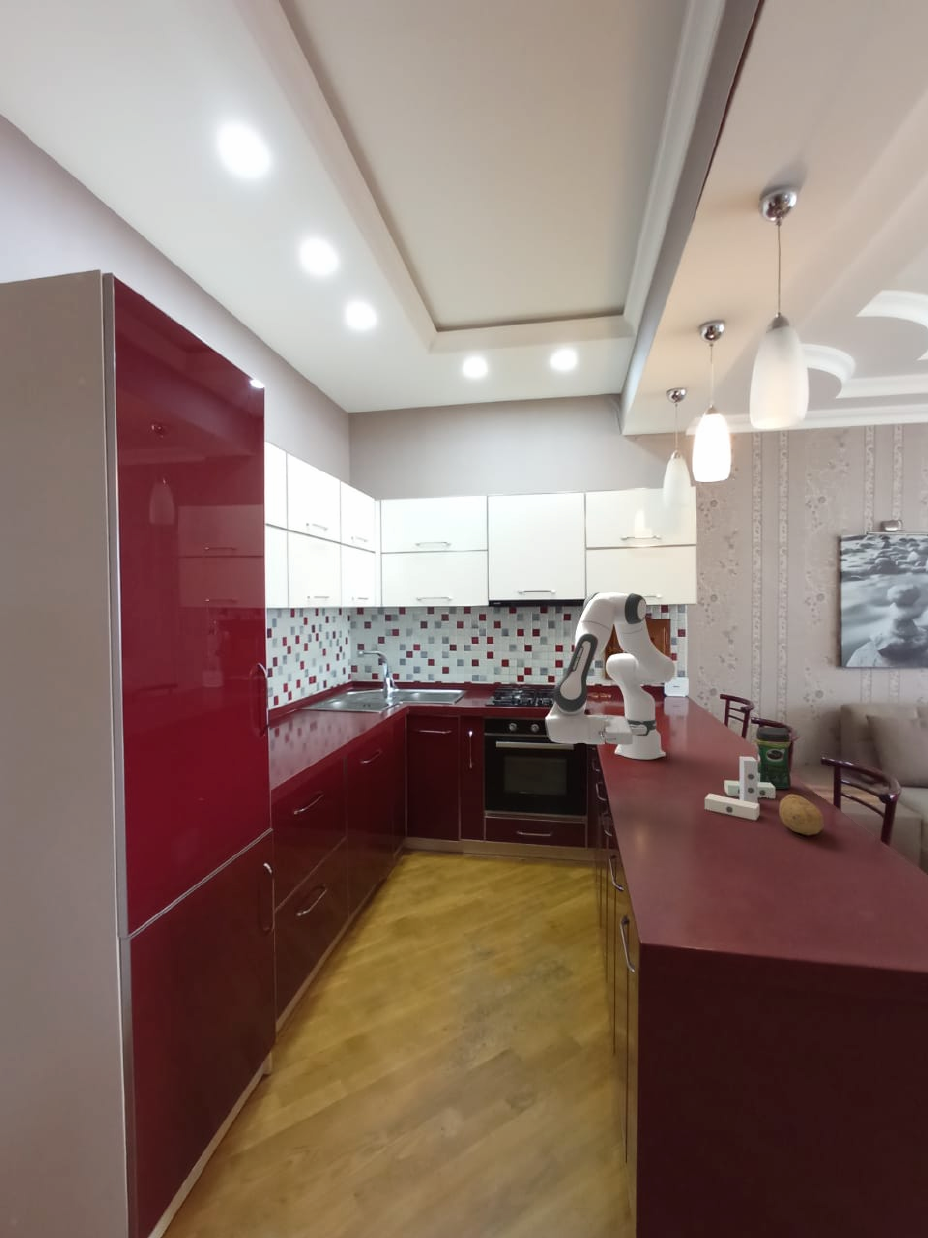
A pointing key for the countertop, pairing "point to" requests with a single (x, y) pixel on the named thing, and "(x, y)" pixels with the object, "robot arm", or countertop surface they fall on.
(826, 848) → the countertop surface
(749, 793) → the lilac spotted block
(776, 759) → the coffee jar
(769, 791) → the white block
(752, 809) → the one-pip tile
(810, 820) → the potato
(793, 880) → the countertop surface
